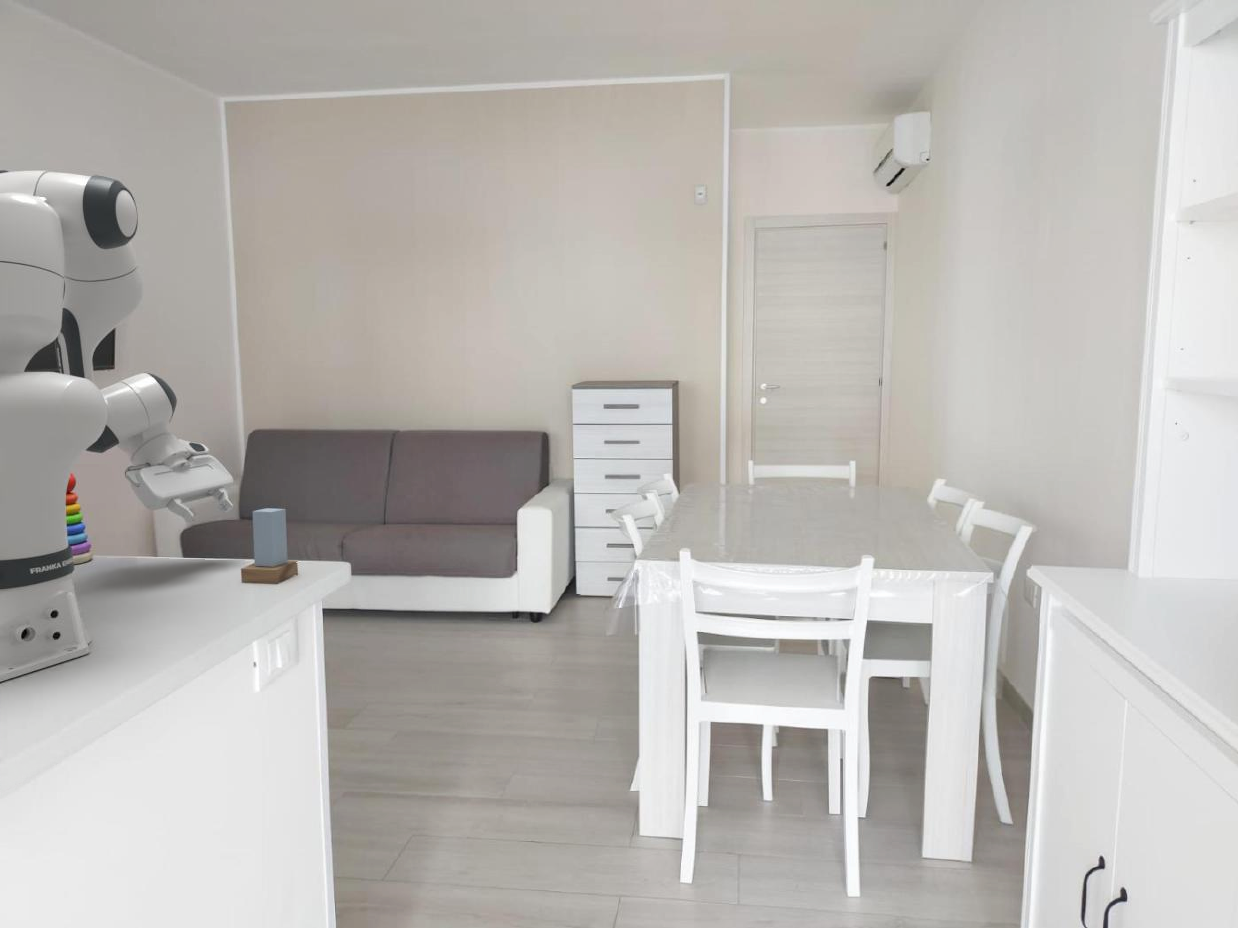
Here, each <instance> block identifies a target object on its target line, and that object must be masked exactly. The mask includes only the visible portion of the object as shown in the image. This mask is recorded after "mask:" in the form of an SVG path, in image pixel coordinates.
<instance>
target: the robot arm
mask: <svg viewBox="0 0 1238 928" xmlns="http://www.w3.org/2000/svg"><path fill="white" fill-rule="evenodd" d="M135 201H136V200H135V197H134V196H133V194H132V192H131V191H130V190H129V189H128V188H127V187H126V186H125V185H124V184H123V183H122V182H121V181H119V180H117V179H114V178H110V177H107V176H103V175H97V174H94V175H92V176H89V175H83V174H76V173H69V172H68V173H67V172H59V171H58V172H57V171H56V172H55V171H52V170H39V169H37V170H19V171H18V170H17V171H8V170H4V169H2V170H0V682H3V681H7V680H10V679H13V678H17V677H19V676H22V675H25V674H29V673H32V672H34V671H39V670H41V669H44V668H47V667H51V666H54V665H56V664H59V663H62V662H66V661H69V660H72V659H76V658H79V657H81V656H84V655H87V654H89V653H90V648H89V644H90V643H91V642H92V641H91V640H92V639H91V636H90V634H89V632H88V630H87V628H86V625H85V622H84V620H83V617H82V613H81V611H80V607H79V602H78V597H77V593H76V590H75V589H76V588H75V586H74V580H73V572H74V571H75V564H74V559H73V553H72V547H71V546H70V545H68V538H67V524H66V490H67V485H68V481H69V478H70V475H71V473H72V472H73V469H74V468H75V465H76V464H77V462H78V460H79V459H80V457H82V455H83V454H84V453H85V452H86V451H87V452H91V453H97V454H103V453H105V452H107V451H109V450H110V449H112V448H114V447H117V448H118V449H119V450H121V451H123V452H124V453H125V454H126V455H127V457H128V458H129V460H130V462H131V464H132V465H130V466H128V467H126V469H125V470H124V477H125V479H126V480H128V482H129V484H130V487H131V489H132V490H133V493H134V494H135V495H136V497H137V499H138V500H139V501H140V502H141V503H142V504H143V506H144V507H145V508H146V509H149V510H151V511H158V510H163V509H166V508H167V509H168V510H169V511H170V512H172V513H173V514H176V515H178V516H180V517H182V518H183V519H184V521H185V522H187V523H191V522H194V521H196V519H197V518H198V516H199V514H198V512H196V511H195V509H194V508H193V507H192V508H189V507H188V506H186V505H184V504H187V503H192V502H196V501H201V500H205V499H208V498H212V497H213V499H215V500H216V501H217V500H218V503H219V505H218V507H217V508H219V509H220V510H221V512H222V513H229V512H231V511H232V509H233V508H234V504H233V503H232V502H231V500H229V495H228V491H229V490H230V489H231V487H232V486H233V485H234V484H235V483H234V477H233V475H232V474H231V473H230V472H229V470H228V469H227V468H225V466H224V464H222V463H221V462H220V460H218V459H217V458H216V457H215V456H213V455H211V454H209V452H210V449H209V448H208V446H207V445H205V444H203V443H201V442H200V443H198V442H192V441H187V440H184V439H181V438H178V437H177V436H176V435H175V434H173V432H170V430H168V427H167V425H168V424H169V423H170V422H171V421H172V419H173V416H174V413H175V411H176V407H177V403H178V402H177V401H178V399H177V396H176V394H175V392H174V391H173V390H172V387H170V385H169V384H168V383H167V381H165V380H164V379H163V378H161V377H159V376H157V375H155V374H154V373H150V372H145V371H144V372H142V373H139V374H138V373H137V374H135V375H133V376H130V377H127V378H125V379H122V380H120V381H117V382H116V383H114V384H111V385H109V386H105V387H104V388H101V389H99V387H98V386H97V385H96V382H95V374H94V363H93V356H94V352H95V350H96V348H97V347H98V346H99V344H100V343H101V342H102V341H103V339H105V338H106V336H107V335H108V334H110V333H111V332H112V331H113V330H114V329H116V328H117V327H118V326H119V325H120V324H122V323H123V322H125V321H126V320H127V319H128V318H130V317H131V316H132V315H133V313H134V312H135V311H136V310H137V308H138V307H139V305H140V304H141V302H142V298H143V294H144V292H143V291H144V285H143V278H142V273H141V270H140V266H139V262H138V258H137V255H136V252H135V249H134V246H133V243H132V239H133V238H134V237H135V235H136V233H137V230H138V223H139V221H138V220H139V215H138V207H137V204H136V202H135ZM53 342H54V347H55V356H56V362H57V371H58V372H55V371H25V370H26V368H27V366H28V364H29V363H30V361H31V360H32V358H33V357H34V356H35V355H36V354H37V353H38V352H39V351H41V350H42V349H43V348H46V347H47V346H48V345H50V344H51V343H53Z"/></svg>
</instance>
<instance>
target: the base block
mask: <svg viewBox="0 0 1238 928" xmlns="http://www.w3.org/2000/svg"><path fill="white" fill-rule="evenodd" d="M296 562H297V563H296ZM298 565H299V564H298V560H291V559H290V560H288V559H287V563H284V564H281V565H278V566H275V567H267V566H255V562H254V563H251V564H249V565H246V566H244V567H242V568H241V567H240V573H241V575H240V576H241V577H240V578H241V584H260V585H261V584H262V585H279V584H281V583H282V582H285V581H287V580H289V579H291V578H293V576H294V575H296V576H297V574H298V575H299V570H298V569H299V568H298V567H299V566H298ZM294 577H295V576H294Z"/></svg>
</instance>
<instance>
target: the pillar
mask: <svg viewBox="0 0 1238 928" xmlns="http://www.w3.org/2000/svg"><path fill="white" fill-rule="evenodd" d="M286 511H287V509H285V508H272V507H271V508H270V507H269V508H268V507H267V508H262V509H261V508H260V509H257V510H253V511H252V532H253V536H252V537H253V557H254V558H253V559H254V563H255V566H267V567H275V566H278V565H281V564H284V563H287V560H288V544H287V543H288V541H287V539H288V537H287V515H286V513H287V512H286Z"/></svg>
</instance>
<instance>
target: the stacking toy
mask: <svg viewBox="0 0 1238 928" xmlns="http://www.w3.org/2000/svg"><path fill="white" fill-rule="evenodd" d="M76 484H77V480H76V476H75V475H74V474H73V473H72V472H71V475H70V478H69V481H68V485H67V490H66V524H67V538H68V545H70V546H71V547H72V553H73V559H74V565H79V564H82V563H86V562H88V561H90V560H91V559H92V558H93V557H94V554H93V551H92V550H91V549H92V548H91V547H92V543H91V542H90V541H89V540H88V533H87V532H86V531H85V529H86V524H85V522H84V521H83V517H84V516H83V514H82V513H81V512H80V511H81V510H82V509H81V508H82V507H81V506H82V505H80V503H78V502H77V501H78V498H79V497H78V494H77V493H75V492H73V490H74V489H75V488H76Z"/></svg>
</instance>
